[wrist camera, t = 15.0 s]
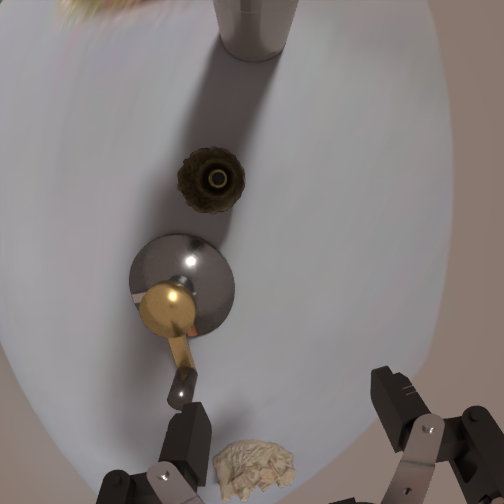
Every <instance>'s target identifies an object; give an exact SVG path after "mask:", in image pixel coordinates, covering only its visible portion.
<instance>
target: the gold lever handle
mask: <svg viewBox="0 0 504 504" xmlns="http://www.w3.org/2000/svg"><path fill="white" fill-rule="evenodd" d="M139 311H140V316H141V319H142V321H143V323H144V324H145V325H146V327H147V328H148V329H149V330H150V331H152V332H153V333H155V334H156V335H158V336H161V337H165V338H168V341H169V344H170V347H171V350H172V353H173V356H174V359H175V362H176V365H177V368H178V369H177V371H176V374H175V377H174V380H173V383H172V386H171V389H170V392H169V395H168V398H167V402H168V404H169V405H170V406H171V407H172V408H174V409H176V410H181V411H182V409H183V405H184V403H190V402H192V398H193V394H194V389H195V385H196V381H197V376H198V374H197V371H196V368H195V365H194V361H193V358H192V355H191V352H190V348H189V345H188V341H187V338H186V335H185V334H186V333H187V332H188V331H189V330H190V329H191V327H192V325H193V322H194V319H195V316H196V313H197V303H196V299H195V297H194V295H193V294H192V292H191V291H190V290H189V289H188V288H187V287H186V286H184V285H183V284H181V283H179V282H176V281H172V280H163V281H159V282H157V283H155V284H154V285H152V286H151V287H150V288H149V290H148V291H147V292H146V293H145V295H144V296H143V297H142V299H141V302H140V306H139Z"/></svg>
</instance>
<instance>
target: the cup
mask: <svg viewBox="0 0 504 504" xmlns="http://www.w3.org/2000/svg"><path fill="white" fill-rule="evenodd" d="M183 163H184V165H183V166H182V167H181V168H180V170H179V172H178V181H179V183H178V190H179V191H181V192H182V193H183V196H184V197H185V199H186V204H187V205H188V206H192V207H193V209H194V210H196V211H197V212H200V213H210V214H215V213H216V212H218V211H219V212H224V211H226V210H228V208H230V207H232V206H233V205H234V204H235V203H236V201H237V200H239V198H240V197H241V194H242V191H243V190H244V187H245V172H244V169H243V168H242V166H241V165H240V162H239V161H238V160H237V158H236V156H235V155H233V154H231V153H230V152H229V151H228V150H226V149H224V148H216V147H214V146H212V147H210V148H201V149H199V150H198V151H194V152H192V153H191V155H190V158H188V159H185V160H184V161H183ZM215 173H221V174H223V176H224V182H223V183H222V184H220V185H217V184H215V183H214V182H213V180H212V177H213V175H214V174H215Z"/></svg>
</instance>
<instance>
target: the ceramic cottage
mask: <svg viewBox="0 0 504 504" xmlns="http://www.w3.org/2000/svg"><path fill="white" fill-rule="evenodd" d="M292 461H293V455H292V454H291V453H289V452H288V451H287V450H285V449H284V448H283V447H282V446H279V445H278V444H273V443H268V442H264V441H259V440H256V441H255V440H243V441H238V442H234V443H231V444H230V445H228V446H227V447H226V448H225V449H223V450H222V451H221V452H219V453H218V454H217V455H216V456H215V457H214V458H213V464H214V467H215V469H216V470H217V476H218V478H219V481H218V482H217V483H218V484H219V485H220V492H221V499H222V501H225V502H229V500H230V499H231V495H235V496H239V498H240V501H243V502H246V501H247V499H248V497H249V493H250V491H252V490H254V489H255V488H256V486H257V485H258V486H259V487H260V488H261V491H263V492H264V491H265V490H266V489H267V488H268V487H269V486H270V485H272V484H273V483H277V484H278V487H281V488H284V484H285V485H287V486H288V485H290V483H291V482H292V479H293V478H294V476H295V474H296V470H294V468H293V464H292Z"/></svg>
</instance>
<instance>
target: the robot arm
mask: <svg viewBox="0 0 504 504" xmlns="http://www.w3.org/2000/svg"><path fill="white" fill-rule="evenodd" d="M298 1H299V0H213V3H214V8H215V12H216V17H217V21H218V25H219V30H220V35H221V39H222V43H223V45H224V47H225V49H226V50H227V51H228V52H229V53H230V54H231V55H233V56H234V57H236V58H238V59H241V60H245V61H251V62H258V61H264V60H268V59H270V58H272V57H274V56H276V55H277V54H279V53H280V51H281V50H282V49H283V48H284V46H285V44H286V40H287V37H288V34H289V31H290V27H291V24H292V21H293V18H294V14H295V11H296V8H297V4H298ZM370 394H371V400H372V403H373V405H374V408H375V410H376V412H377V414H378V416H379V418H380V420H381V423H382V425H383V427H384V429H385V431H386V433H387V436H388V438H389V440H390V442H391V445H392V447H393V449H394V451H395V453H397V452H399V451H403V456H402V459H401V460H400V462H399V464H398V467H397V469H396V471H395V474H394V476H393V478H392V481H391V483H390V485H389V487H388V489H387V492H386V493H385V496H384V498H383V500H382V502H381V504H423V501H424V499H425V496H426V493H427V491H428V488H429V485H430V482H431V479H432V476H433V473H434V470H435V463H437V462H443V461H449V463H450V465H451V467H452V469H453V471H454V474H455V476H456V478H457V480H458V483H459V485H460V487H461V490H462V492H463V494H464V497H465V499H466V502H467V504H504V434H503V432H502V431H501V429H500V428H499V426H498V425H497V423H496V422H495V420H494V419H493V417H492V416H491V415H490V413H489V412H488V410H487V409H486V408H484V407H482V406H471V407H469V408H467V409H466V410H465V411H464V413H463V415H462V416H460V417H454V418H448V419H442V418H441V417H440V416H438V415H436V414H432V413H431V412H430V411H429V409H428V408H427V406H426V405H425V403H424V402H423V400H422V398H421V397H420V395H419V394H418V392H416V389H415V388H414V386H412V383H411V382H410V380H409V379H408V377H406V376H404V375H403V374H401V373H400V372H399V373H396V374H393V373H392V371H391V370H390V368H389V367H388V366H383V367H380V368H377V369H374V370H372V371H371V391H370ZM167 430H168V431H167V432H166V438H165V440H164V443H163V447H162V450H161V454H160V458H159V461H158V463H155V464H153V465H152V466H151V467H150V468H149V469H148V471H147V472H145V473H140V474H135V475H129V474H128V473H127V472H125V471H123V470H113V471H110V472H109V473H108V474H106V476H105V477H104V479H103V482H102V485H101V488H100V492H99V495H98V498H97V502H96V504H205V503H204V502H203V501H202V499H201V498H200V497H199V496H198V495H197V486H205V484H206V476H207V468H208V459H209V451H210V443H211V435H212V428H211V423H210V421H209V418H208V416H207V414H206V412H205V410H204V407H203V405H202V403H201V402H190V403H184V405H183V409H182V413H177V414H175V415H174V416H173V418H172V419H171V420H170V422H169V425H168V429H167ZM329 504H374V503H368V502H355V498H354V497H353V498H349V499H346V500H342V501H337V502H334V503H329Z"/></svg>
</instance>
